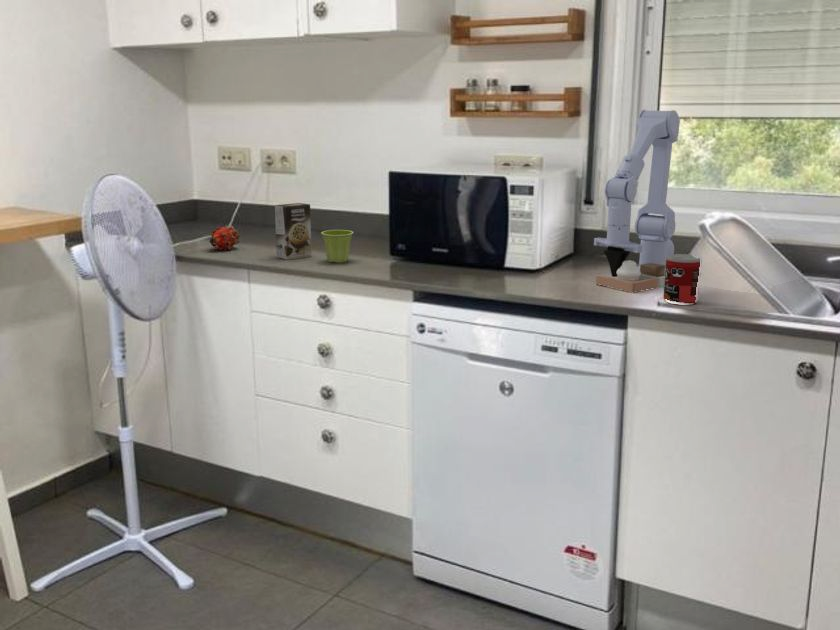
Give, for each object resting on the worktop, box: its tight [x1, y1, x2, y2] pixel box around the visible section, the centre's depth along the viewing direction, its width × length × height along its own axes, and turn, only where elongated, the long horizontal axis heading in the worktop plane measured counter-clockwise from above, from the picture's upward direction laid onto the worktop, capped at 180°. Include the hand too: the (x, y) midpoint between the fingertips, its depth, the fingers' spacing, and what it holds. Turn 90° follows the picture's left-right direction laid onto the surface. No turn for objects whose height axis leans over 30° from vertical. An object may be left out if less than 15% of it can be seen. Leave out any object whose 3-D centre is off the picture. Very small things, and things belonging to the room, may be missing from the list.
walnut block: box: [640, 263, 665, 277], centre depth 225 cm, size 4×4×4 cm
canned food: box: [663, 253, 700, 303], centre depth 202 cm, size 8×8×11 cm
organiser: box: [595, 274, 665, 293], centre depth 223 cm, size 20×12×2 cm, turn 127°
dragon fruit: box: [209, 224, 240, 252], centre depth 271 cm, size 8×8×12 cm
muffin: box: [616, 259, 641, 282], centre depth 219 cm, size 6×6×7 cm
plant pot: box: [320, 229, 354, 264], centre depth 253 cm, size 9×9×9 cm
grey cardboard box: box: [274, 202, 313, 261], centre depth 258 cm, size 9×6×16 cm
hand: (615, 276), depth 223 cm, fingers closed
